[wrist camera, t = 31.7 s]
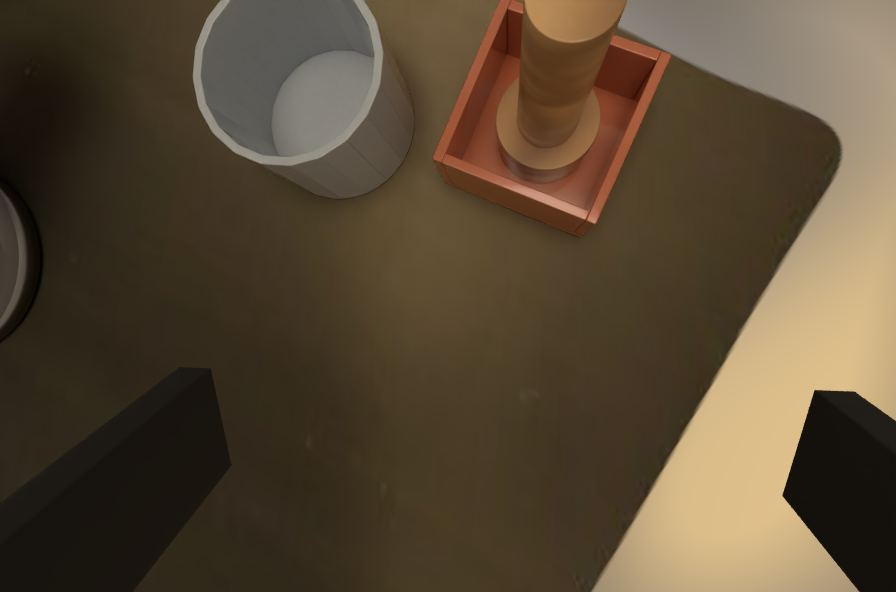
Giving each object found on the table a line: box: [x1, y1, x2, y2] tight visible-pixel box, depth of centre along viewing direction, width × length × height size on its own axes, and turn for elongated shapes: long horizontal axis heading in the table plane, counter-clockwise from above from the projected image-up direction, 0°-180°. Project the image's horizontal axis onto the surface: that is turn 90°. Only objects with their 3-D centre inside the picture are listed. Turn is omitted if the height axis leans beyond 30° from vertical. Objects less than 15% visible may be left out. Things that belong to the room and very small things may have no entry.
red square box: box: [433, 0, 671, 237], centre depth 29 cm, size 10×10×6 cm
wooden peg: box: [495, 0, 627, 184], centre depth 23 cm, size 6×6×15 cm
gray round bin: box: [193, 0, 414, 199], centre depth 29 cm, size 11×11×8 cm
